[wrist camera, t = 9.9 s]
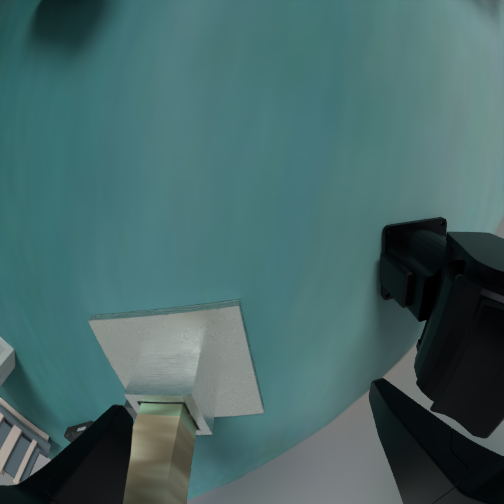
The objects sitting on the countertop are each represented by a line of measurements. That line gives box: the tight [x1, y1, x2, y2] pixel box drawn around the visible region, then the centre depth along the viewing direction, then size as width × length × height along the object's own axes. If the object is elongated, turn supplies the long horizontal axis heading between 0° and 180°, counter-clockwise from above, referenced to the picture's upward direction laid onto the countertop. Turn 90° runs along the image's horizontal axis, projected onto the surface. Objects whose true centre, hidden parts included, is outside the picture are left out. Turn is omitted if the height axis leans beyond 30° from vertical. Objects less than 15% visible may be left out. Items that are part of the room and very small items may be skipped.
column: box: [123, 403, 196, 504], centre depth 14 cm, size 4×4×10 cm
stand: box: [88, 299, 264, 435], centre depth 21 cm, size 14×14×6 cm
